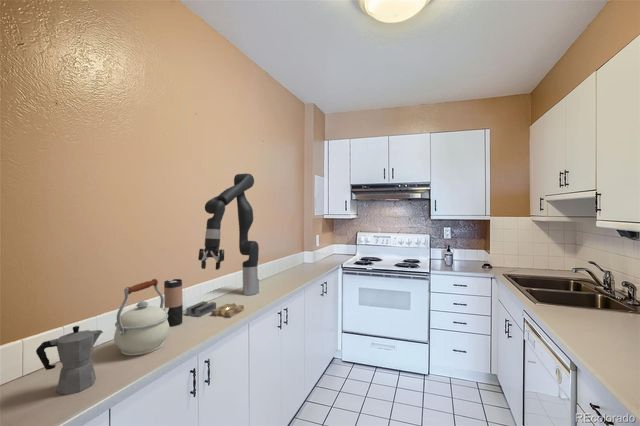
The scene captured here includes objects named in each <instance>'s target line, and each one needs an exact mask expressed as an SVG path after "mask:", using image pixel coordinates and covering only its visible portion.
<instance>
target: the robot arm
mask: <svg viewBox="0 0 640 426" xmlns="http://www.w3.org/2000/svg"><path fill="white" fill-rule="evenodd" d="M254 185H255V178H254V176H253V174H251V173H238V174H235V176H234V179H233V185H231V187H228V188H226V189H225V190H223V191H222V192H220V194H219V195H217V196H214V197H212V198H211V199H209V200H208V201H206V203H205V204H204V211H205V212H206V213H208V214H209V215H211V214H213V216H212V217H210V218H208V219H207V220H206V229H205V235H204V236H205V237H204V248H199V251H198V257H197V258H198V261H201V263H200V264H201V266H200V267H201V269H202V270H205V269H206V267H207V262H206V261H208V259H209V258H211V259H212V258H213V259H214V260H215V271H216V270H218V271H219V270H220V268H221V262H224V261H225V250H224V249H222V248H221V249H220V247H221V226H222V225H221V224H222V220H223V217H224V214H225V212H226V206H228V205H229V204H230V203H232V201H233V200H235V198H236V205H237V219H238V231H239V232H238V233H239V236H238V237H239V240H238V244H239V245H238V247H239V250H238V251H239V252H240V254H241V255H242V256H248V259H247V260H245V261H243V262H242V295H244V296H255V295H257V294H260V278H259V277H258V273H259V272H258V269H259V268H258V265H259V264H258V262H259V249H260V247H259V243H258V242H257V241H256V240H249V239H248V238H249V231H250V228H251V227H252V225H253V222H254V211H253V207H252V205H251V204H250V203H249V201H248V199H247V197H246V195H245V192H246V191H247V190H250V189H251V188H252V187H253V186H254Z"/></svg>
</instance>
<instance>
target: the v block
mask: <svg viewBox="0 0 640 426" xmlns="http://www.w3.org/2000/svg"><path fill="white" fill-rule="evenodd" d="M208 302H209V301H205V300H204V301H201V302H198V303H195V304H193V305H190V306H188V307H186V308H185V310H186V311H185V312H186V316H190V317H191V316H192V317H198V318H201V317H203V316H205V315H207V314H209V313H212V311H213V310H215V309H217V303H216V302H213V301H211V302H209V303H208Z"/></svg>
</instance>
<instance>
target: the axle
mask: <svg viewBox="0 0 640 426" xmlns="http://www.w3.org/2000/svg"><path fill="white" fill-rule="evenodd" d="M230 304H231V305H229V306H227V307H225V308H223V309H221V310H219V315H218V316H220V317H225V312H227V311H229V310H231V309H233V308H235V307H237V306H238V305H237V304H236V303H234V302H233V303H230Z"/></svg>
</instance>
